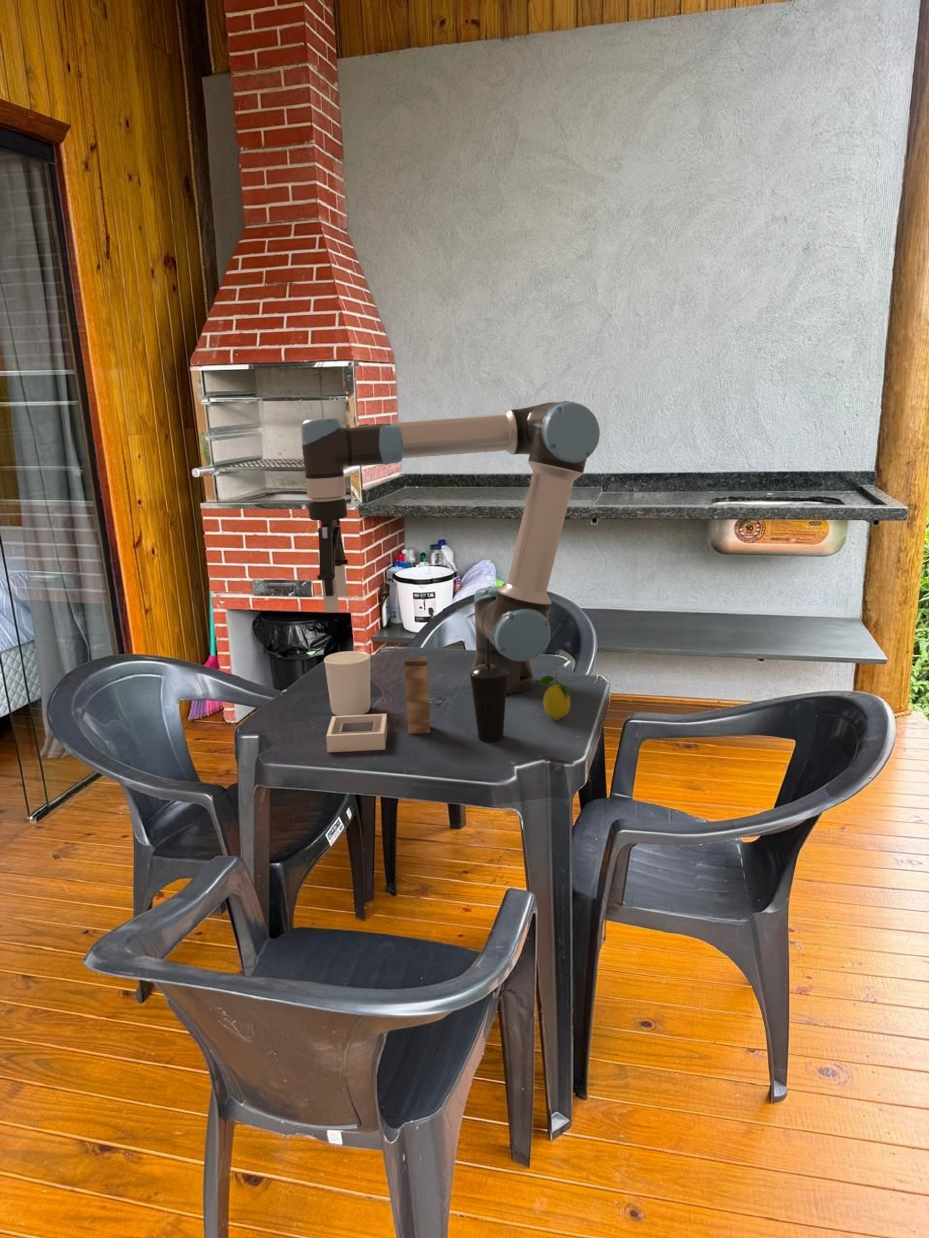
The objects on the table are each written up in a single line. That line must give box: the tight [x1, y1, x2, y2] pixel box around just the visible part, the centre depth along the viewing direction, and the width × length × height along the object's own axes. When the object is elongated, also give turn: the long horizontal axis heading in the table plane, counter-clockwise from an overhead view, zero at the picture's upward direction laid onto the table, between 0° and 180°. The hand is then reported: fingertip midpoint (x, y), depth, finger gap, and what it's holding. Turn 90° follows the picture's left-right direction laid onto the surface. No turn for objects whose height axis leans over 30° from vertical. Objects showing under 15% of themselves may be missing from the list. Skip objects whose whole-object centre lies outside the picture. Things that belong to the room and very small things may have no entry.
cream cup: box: [323, 650, 371, 716], centre depth 190 cm, size 10×10×12 cm
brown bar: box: [403, 655, 431, 735], centre depth 177 cm, size 4×4×15 cm
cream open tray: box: [325, 713, 389, 753], centre depth 174 cm, size 11×11×3 cm
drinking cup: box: [468, 639, 508, 743], centre depth 171 cm, size 8×8×20 cm
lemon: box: [538, 673, 572, 721], centre depth 180 cm, size 7×6×10 cm
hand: (336, 603), depth 179 cm, fingers open, 13 cm apart
